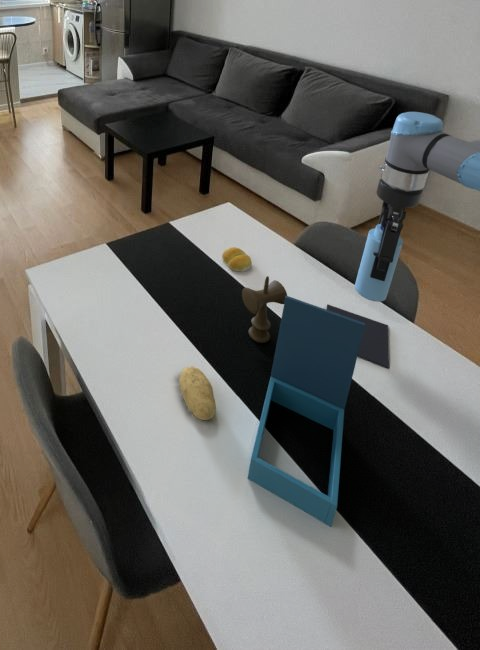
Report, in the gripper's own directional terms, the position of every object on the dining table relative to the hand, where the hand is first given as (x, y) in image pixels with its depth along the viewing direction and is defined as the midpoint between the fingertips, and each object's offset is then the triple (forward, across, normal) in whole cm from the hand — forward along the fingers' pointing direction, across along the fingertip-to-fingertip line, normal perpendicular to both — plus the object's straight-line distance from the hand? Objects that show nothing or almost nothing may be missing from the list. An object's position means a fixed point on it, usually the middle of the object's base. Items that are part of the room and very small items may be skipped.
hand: (377, 268), depth 99 cm
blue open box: (+24, +37, -10) cm, 45 cm away
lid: (+6, +26, -10) cm, 28 cm away
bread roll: (+24, -15, -33) cm, 44 cm away
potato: (+24, +35, -30) cm, 52 cm away
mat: (+24, -2, 0) cm, 24 cm away
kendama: (+24, +10, -21) cm, 34 cm away
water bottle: (+7, 0, 0) cm, 7 cm away
